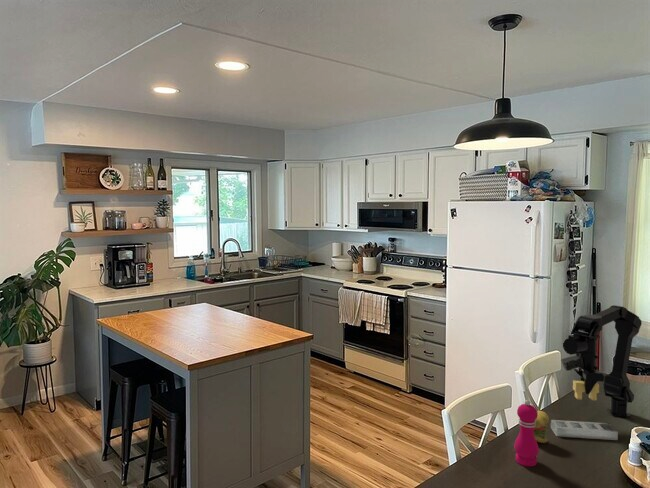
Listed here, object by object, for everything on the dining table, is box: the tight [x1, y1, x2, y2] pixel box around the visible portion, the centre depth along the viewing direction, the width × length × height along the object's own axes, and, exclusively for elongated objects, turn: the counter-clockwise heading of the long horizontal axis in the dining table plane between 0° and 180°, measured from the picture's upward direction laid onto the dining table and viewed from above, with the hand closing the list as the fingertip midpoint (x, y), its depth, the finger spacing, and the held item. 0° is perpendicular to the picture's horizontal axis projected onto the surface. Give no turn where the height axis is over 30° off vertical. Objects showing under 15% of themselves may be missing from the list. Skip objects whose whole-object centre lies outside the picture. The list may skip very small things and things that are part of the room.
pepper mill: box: [513, 399, 540, 467], centre depth 156 cm, size 7×7×20 cm
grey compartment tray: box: [550, 419, 619, 441], centre depth 176 cm, size 20×7×3 cm, turn 81°
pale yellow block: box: [572, 380, 600, 401], centre depth 183 cm, size 8×3×6 cm, turn 80°
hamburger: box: [534, 410, 550, 444], centre depth 170 cm, size 8×7×12 cm
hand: (585, 392), depth 183 cm, fingers closed on pale yellow block, 3 cm apart
